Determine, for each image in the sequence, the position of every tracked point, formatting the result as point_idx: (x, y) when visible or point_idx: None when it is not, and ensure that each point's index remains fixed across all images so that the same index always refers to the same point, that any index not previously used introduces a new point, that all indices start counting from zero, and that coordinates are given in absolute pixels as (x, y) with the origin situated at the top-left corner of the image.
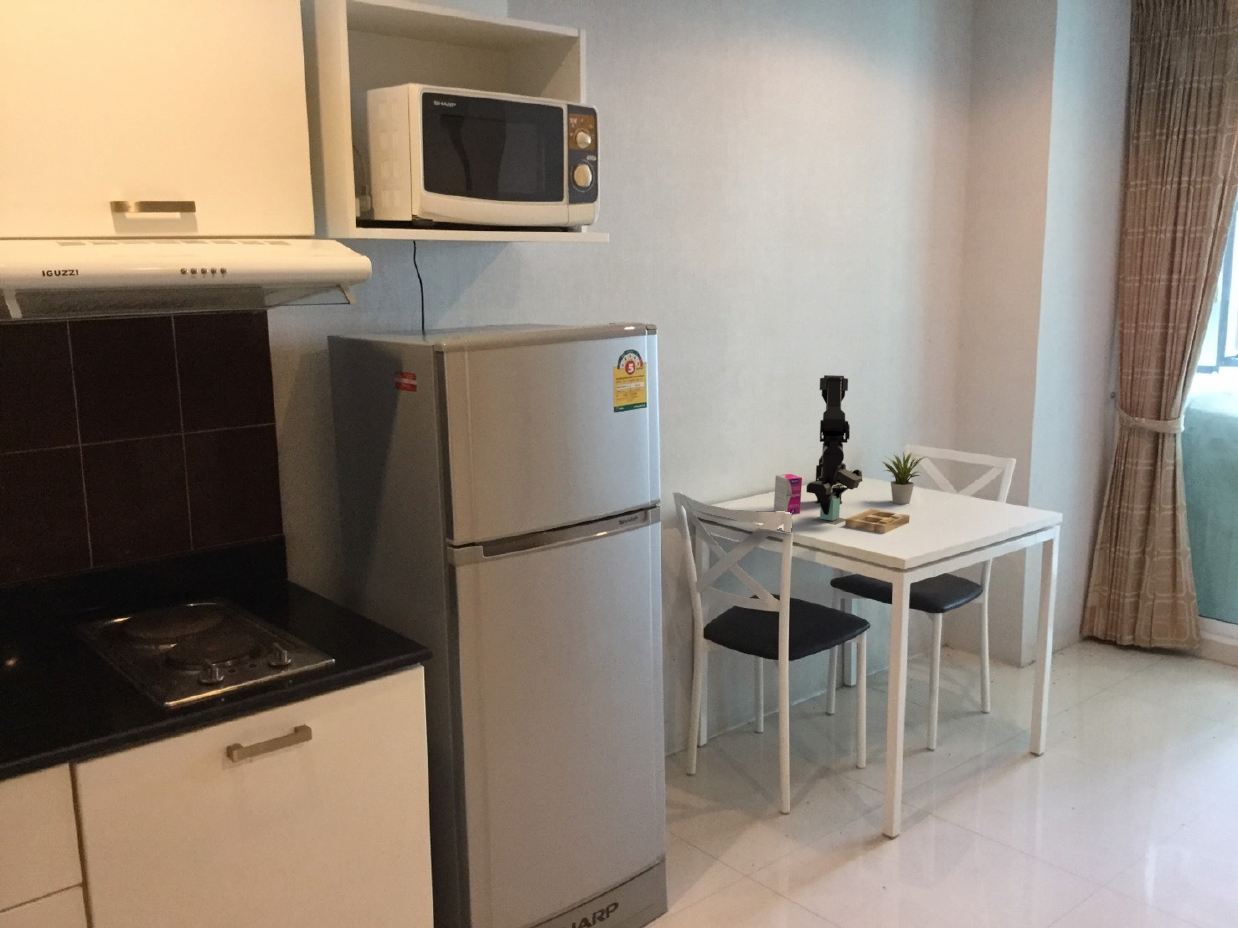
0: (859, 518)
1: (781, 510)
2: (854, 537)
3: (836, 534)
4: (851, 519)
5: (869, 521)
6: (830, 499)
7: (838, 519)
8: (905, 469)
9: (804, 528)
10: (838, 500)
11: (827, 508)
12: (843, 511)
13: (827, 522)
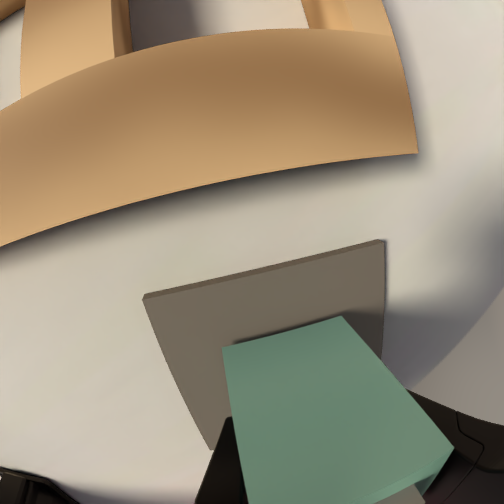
0: (284, 46)
1: None
2: (465, 15)
3: (494, 112)
4: (393, 91)
5: (123, 47)
6: (472, 453)
7: (222, 343)
8: None
9: (489, 300)
10: (294, 492)
11: (419, 399)
12: (33, 431)
13: (369, 319)
